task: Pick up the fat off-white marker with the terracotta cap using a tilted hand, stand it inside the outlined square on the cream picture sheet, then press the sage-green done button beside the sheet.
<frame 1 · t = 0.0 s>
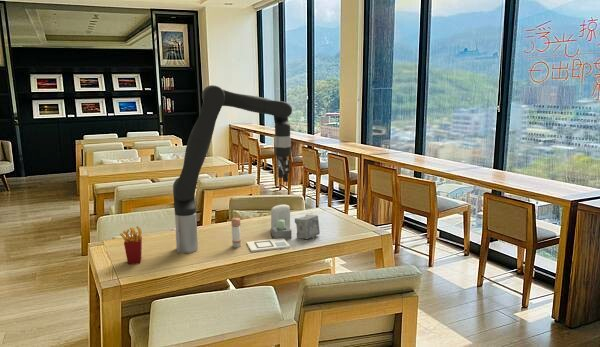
hand: (282, 179, 219), 29 cm above the table, tool pointing down, fingers open, 8 cm apart
sheet: (268, 245, 217), on the table
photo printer: (280, 228, 241), on the table
marker: (236, 245, 217), on the table
button housing: (281, 236, 229), on the table
french fries: (133, 261, 200), on the table
grey stone block: (307, 237, 229), on the table
done button: (281, 226, 228), point 5 cm above the table, slide at 0.0 cm
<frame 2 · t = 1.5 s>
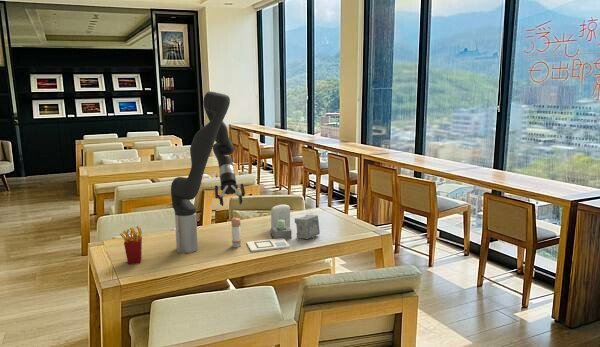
hand: (231, 204, 224), 17 cm above the table, tool tilted 45°, fingers open, 8 cm apart
nothing on the table moved.
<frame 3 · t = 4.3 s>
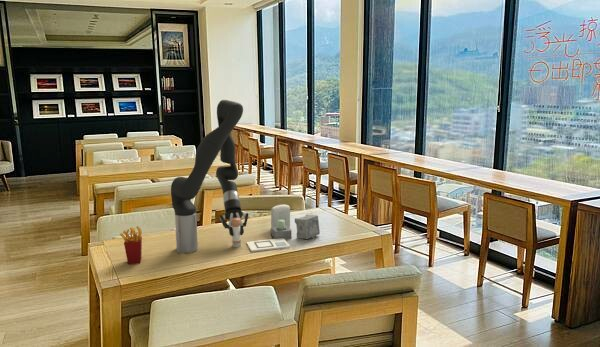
hand: (237, 234, 214), 6 cm above the table, tool tilted 45°, fingers closed on marker, 3 cm apart
marker: (236, 245, 217), on the table, touching gripper
everything else where it was.
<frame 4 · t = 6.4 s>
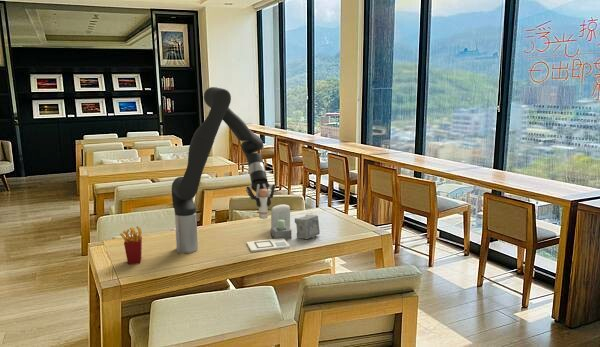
hand: (264, 205, 210), 20 cm above the table, tool tilted 45°, fingers closed on marker, 3 cm apart
marker: (263, 217, 214), point 14 cm above the table, touching gripper
everything else where it was.
when the fingers open (8 cm above the table, at t = 8.8 s): marker drops 1 cm, resting on sheet.
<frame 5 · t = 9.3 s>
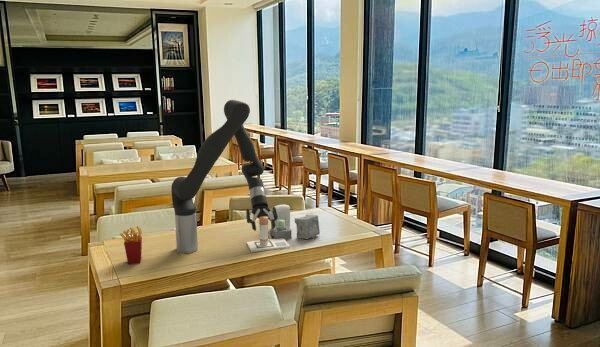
hand: (264, 229, 213), 9 cm above the table, tool tilted 45°, fingers open, 8 cm apart
marker: (263, 244, 216), point 1 cm above the table, touching sheet
everything else where it was.
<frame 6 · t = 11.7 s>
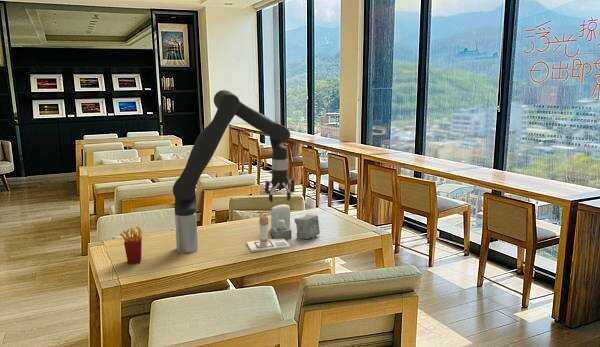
hand: (279, 201, 226), 18 cm above the table, tool pointing down, fingers open, 8 cm apart
nothing on the table moved.
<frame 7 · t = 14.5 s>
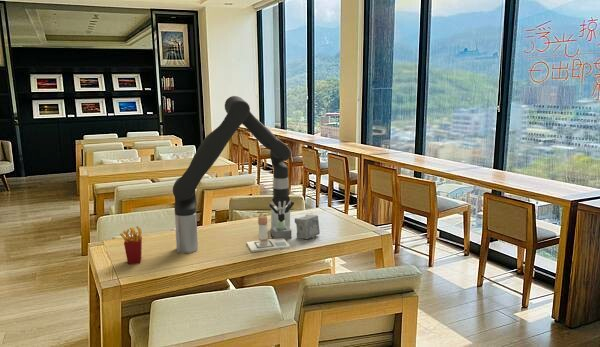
hand: (281, 221, 227), 8 cm above the table, tool pointing down, fingers closed
done button: (281, 227, 228), point 5 cm above the table, slide at 0.2 cm, touching gripper
everything else where it was.
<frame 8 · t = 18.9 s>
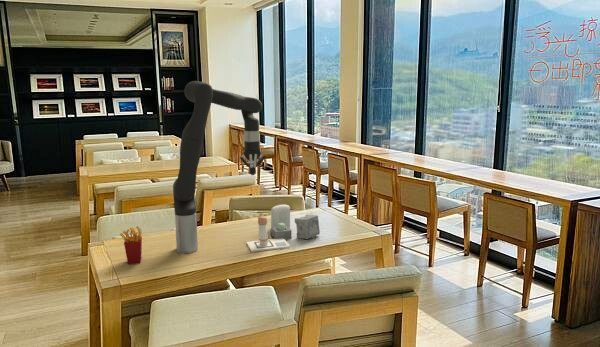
hand: (252, 174, 231), 29 cm above the table, tool pointing down, fingers closed
done button: (281, 229, 228), point 3 cm above the table, slide at 1.6 cm
everything else where it was.
at the end: marker inside the target area on the sheet (0.1 cm from its centre), point 0.9 cm above the sheet's base; marker tilted 2°; done button slide at 1.6 cm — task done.
